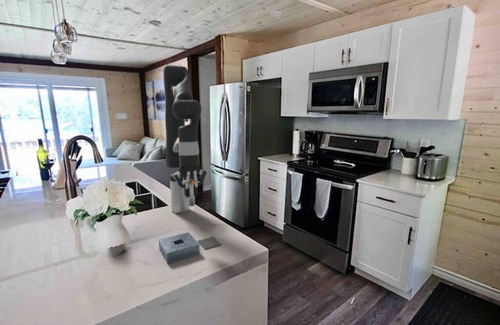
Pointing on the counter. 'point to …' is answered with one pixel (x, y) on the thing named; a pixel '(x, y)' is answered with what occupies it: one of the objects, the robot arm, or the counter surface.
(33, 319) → the counter surface
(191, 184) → the chuck key
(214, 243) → the mat
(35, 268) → the counter surface
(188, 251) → the block
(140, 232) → the counter surface
